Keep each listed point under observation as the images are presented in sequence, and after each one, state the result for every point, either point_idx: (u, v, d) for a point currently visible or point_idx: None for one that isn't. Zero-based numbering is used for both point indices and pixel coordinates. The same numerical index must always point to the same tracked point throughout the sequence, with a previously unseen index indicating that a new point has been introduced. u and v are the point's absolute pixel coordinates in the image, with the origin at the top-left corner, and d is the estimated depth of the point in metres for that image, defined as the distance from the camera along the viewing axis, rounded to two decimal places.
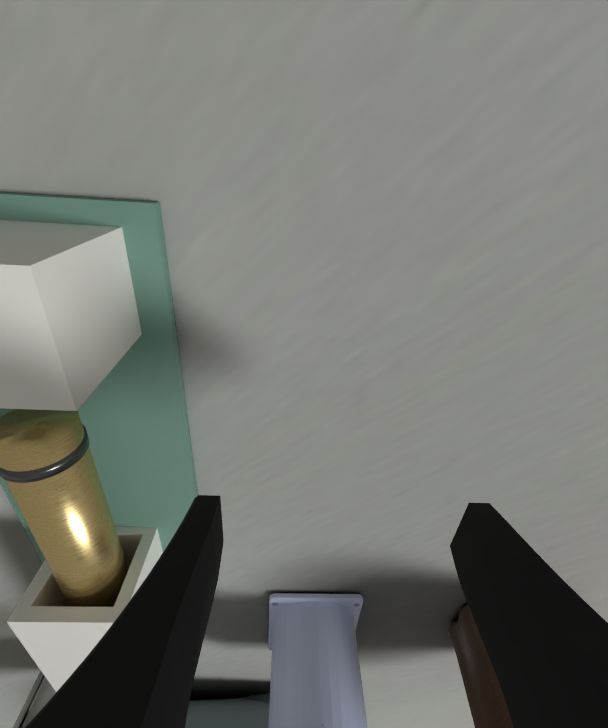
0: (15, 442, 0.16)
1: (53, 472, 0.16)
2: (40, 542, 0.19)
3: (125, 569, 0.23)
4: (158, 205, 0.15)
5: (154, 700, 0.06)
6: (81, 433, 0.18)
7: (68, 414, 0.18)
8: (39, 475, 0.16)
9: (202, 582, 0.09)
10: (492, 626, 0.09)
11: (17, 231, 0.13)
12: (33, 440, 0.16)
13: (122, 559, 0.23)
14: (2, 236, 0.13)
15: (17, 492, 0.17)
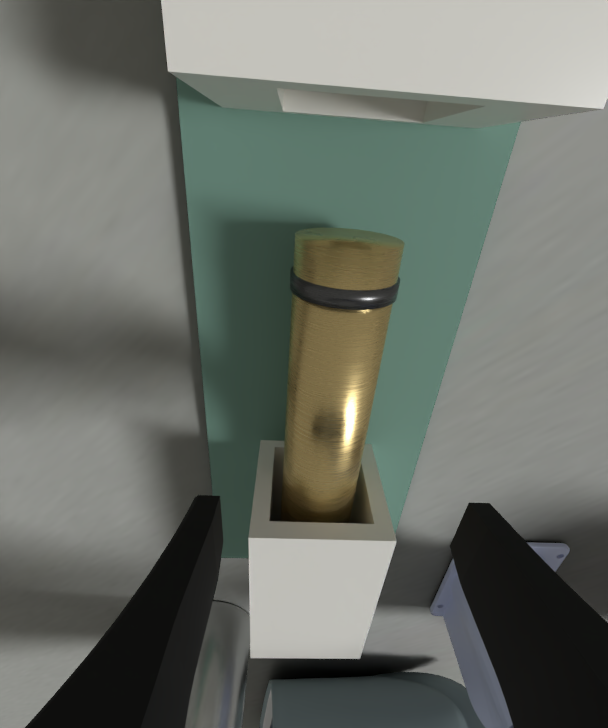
0: (354, 245, 0.11)
1: (386, 301, 0.12)
2: (316, 422, 0.14)
3: None
4: None
5: (154, 700, 0.06)
6: None
7: (379, 235, 0.13)
8: (376, 299, 0.11)
9: (202, 582, 0.09)
10: (492, 626, 0.09)
11: None
12: (374, 246, 0.11)
13: None
14: None
15: (331, 330, 0.12)
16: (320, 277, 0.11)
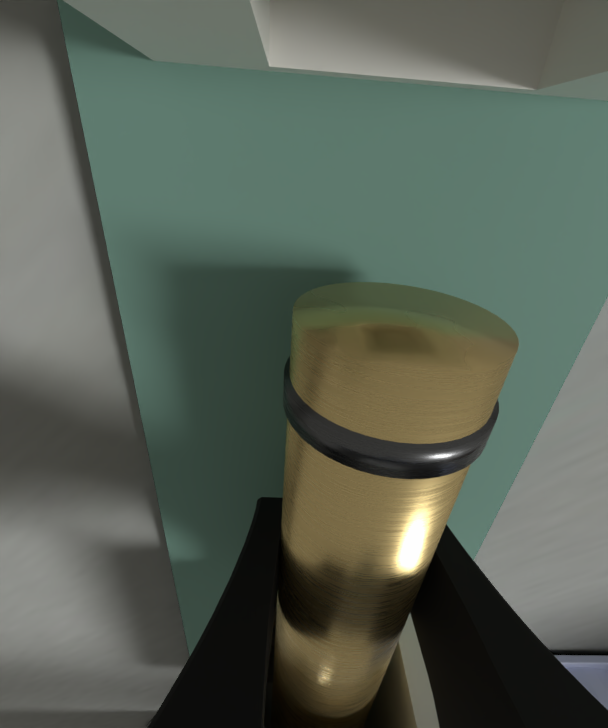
0: (422, 350, 0.05)
1: (478, 450, 0.06)
2: (330, 623, 0.08)
3: None
4: None
5: None
6: None
7: (451, 302, 0.07)
8: (462, 457, 0.05)
9: (275, 583, 0.09)
10: (425, 626, 0.09)
11: None
12: (463, 348, 0.05)
13: None
14: None
15: (365, 506, 0.06)
16: (346, 413, 0.05)
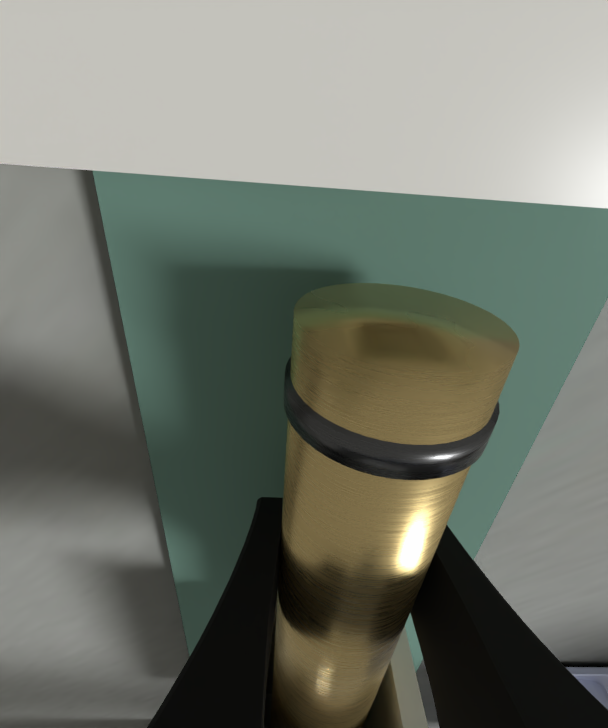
0: (423, 352, 0.05)
1: (479, 451, 0.06)
2: (330, 623, 0.08)
3: None
4: None
5: None
6: None
7: (450, 304, 0.07)
8: (463, 457, 0.05)
9: (275, 583, 0.09)
10: (425, 625, 0.09)
11: None
12: (464, 349, 0.05)
13: None
14: None
15: (366, 507, 0.06)
16: (348, 414, 0.05)
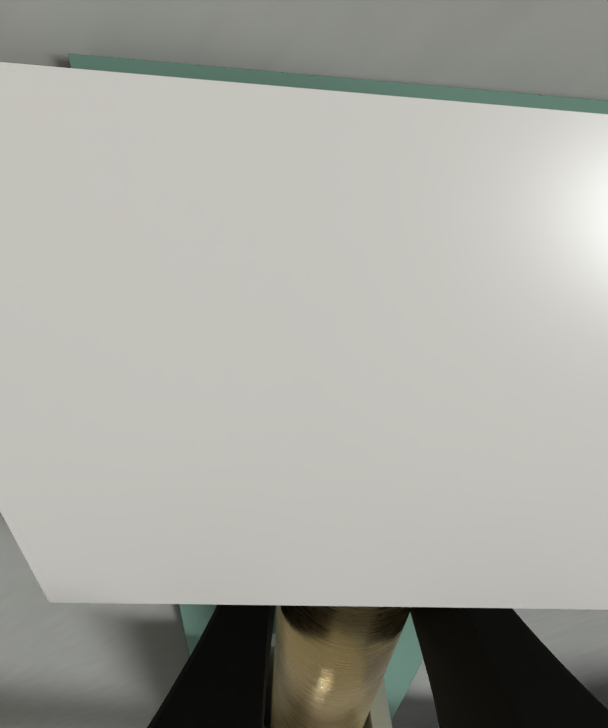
0: None
1: None
2: (330, 624, 0.08)
3: None
4: None
5: None
6: None
7: None
8: None
9: None
10: (425, 625, 0.09)
11: None
12: None
13: None
14: None
15: None
16: None
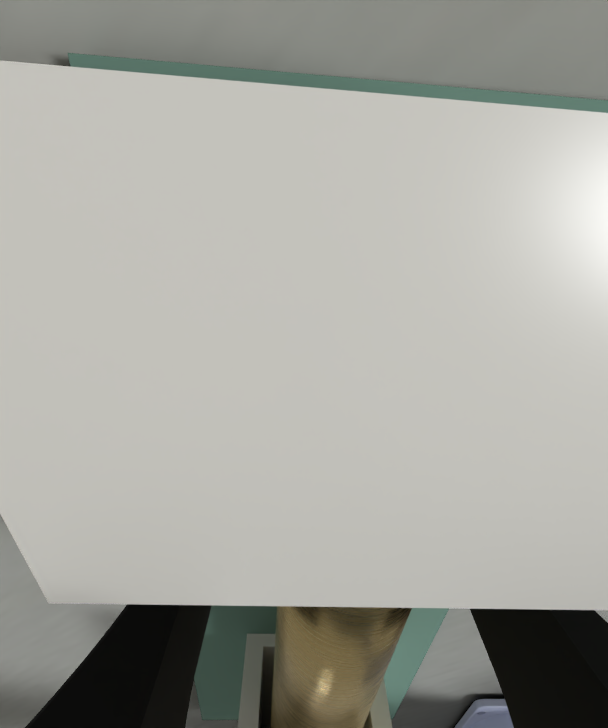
0: None
1: None
2: (330, 624, 0.08)
3: None
4: None
5: (154, 700, 0.06)
6: None
7: None
8: None
9: None
10: (493, 626, 0.09)
11: None
12: None
13: None
14: None
15: None
16: None
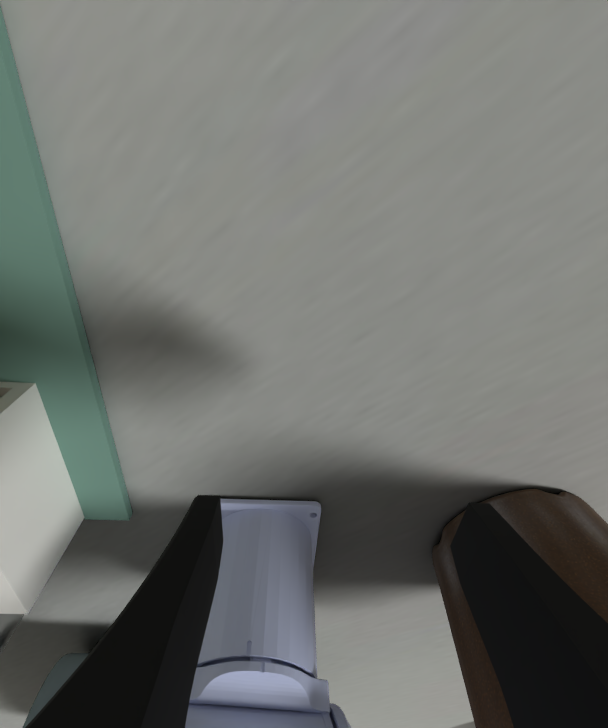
0: None
1: None
2: None
3: None
4: None
5: (154, 700, 0.06)
6: None
7: None
8: None
9: (202, 582, 0.09)
10: (493, 626, 0.09)
11: None
12: None
13: None
14: None
15: None
16: None
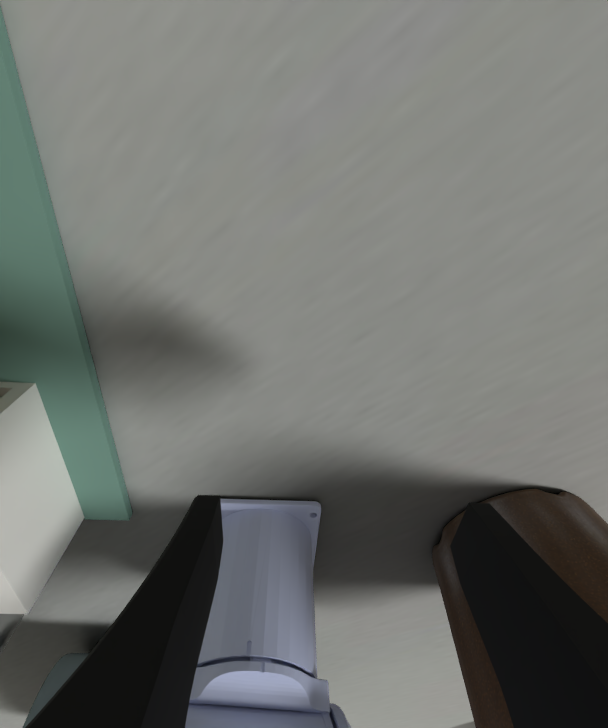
0: None
1: None
2: None
3: None
4: None
5: (154, 700, 0.06)
6: None
7: None
8: None
9: (202, 582, 0.09)
10: (493, 626, 0.09)
11: None
12: None
13: None
14: None
15: None
16: None
